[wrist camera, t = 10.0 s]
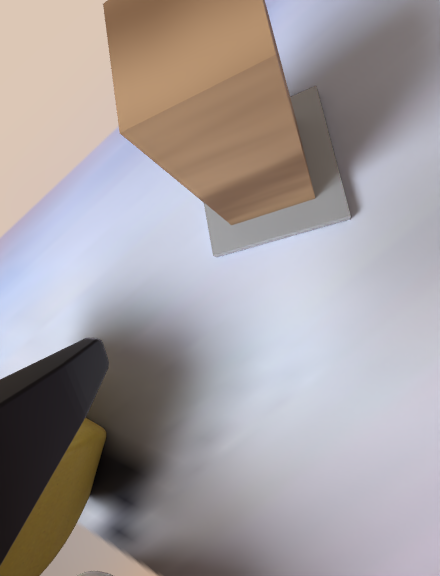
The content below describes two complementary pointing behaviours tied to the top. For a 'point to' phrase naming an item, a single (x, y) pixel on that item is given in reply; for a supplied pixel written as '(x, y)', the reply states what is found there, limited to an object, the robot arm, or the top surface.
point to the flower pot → (57, 505)
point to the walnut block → (209, 101)
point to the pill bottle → (95, 574)
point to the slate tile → (301, 216)
